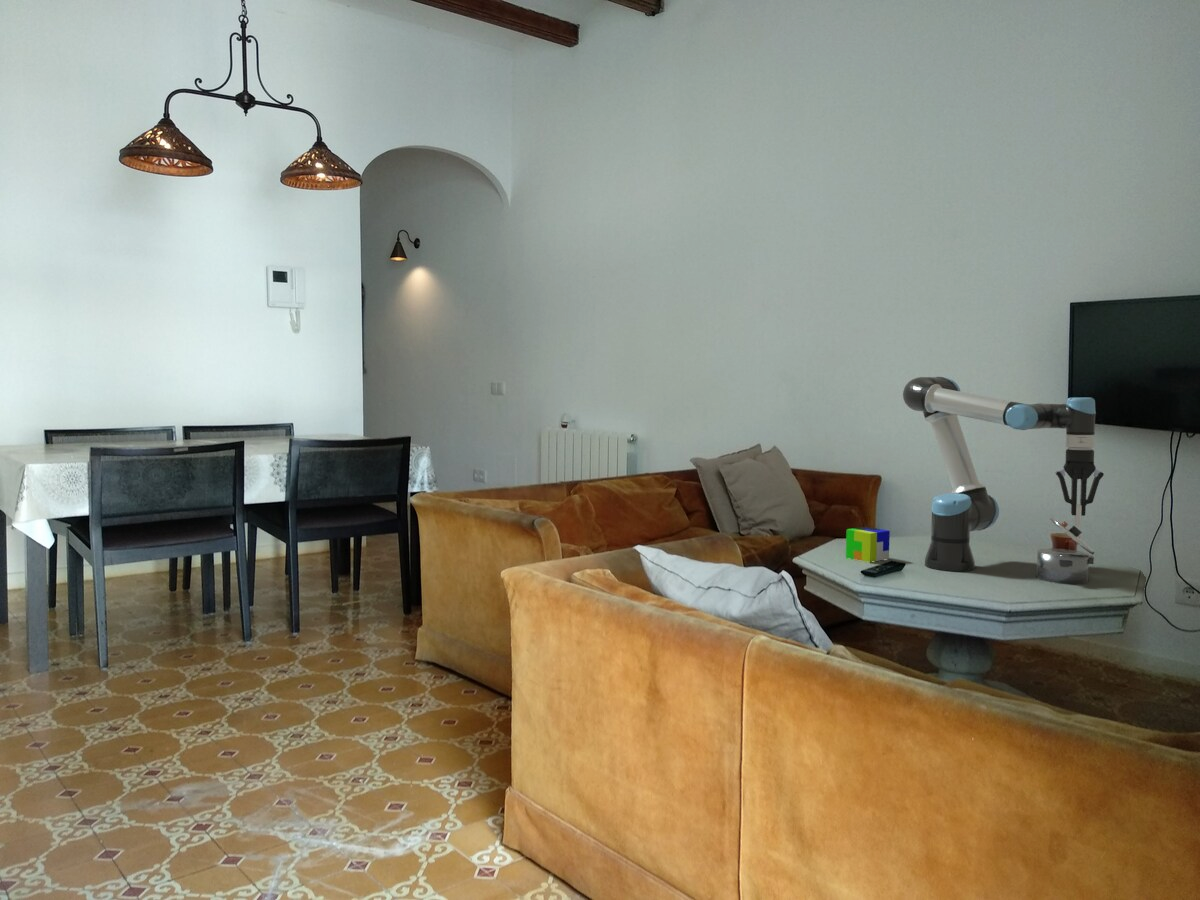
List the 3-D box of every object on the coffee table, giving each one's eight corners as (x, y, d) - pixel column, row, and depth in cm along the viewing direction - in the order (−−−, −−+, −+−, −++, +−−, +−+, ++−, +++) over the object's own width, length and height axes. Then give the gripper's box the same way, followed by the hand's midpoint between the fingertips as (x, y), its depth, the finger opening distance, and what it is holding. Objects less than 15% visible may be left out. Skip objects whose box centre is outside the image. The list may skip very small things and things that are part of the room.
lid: (1052, 522, 258) (1060, 515, 258) (1047, 515, 272) (1054, 508, 271) (1095, 558, 255) (1103, 551, 254) (1088, 549, 269) (1095, 542, 268)
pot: (1039, 583, 259) (1040, 557, 259) (1033, 570, 277) (1034, 545, 276) (1096, 587, 254) (1097, 560, 253) (1087, 574, 271) (1088, 549, 270)
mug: (1045, 563, 289) (1046, 532, 288) (1073, 564, 287) (1075, 533, 286) (1056, 570, 277) (1057, 539, 276) (1086, 571, 275) (1087, 539, 274)
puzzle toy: (888, 559, 294) (889, 530, 293) (869, 563, 289) (870, 533, 288) (864, 554, 302) (865, 526, 302) (845, 558, 297) (846, 529, 296)
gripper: (1057, 449, 260) (1055, 527, 262) (1106, 449, 255) (1104, 529, 257) (1054, 447, 267) (1052, 523, 269) (1102, 448, 262) (1100, 525, 264)
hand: (1077, 526), depth 263 cm, fingers closed
